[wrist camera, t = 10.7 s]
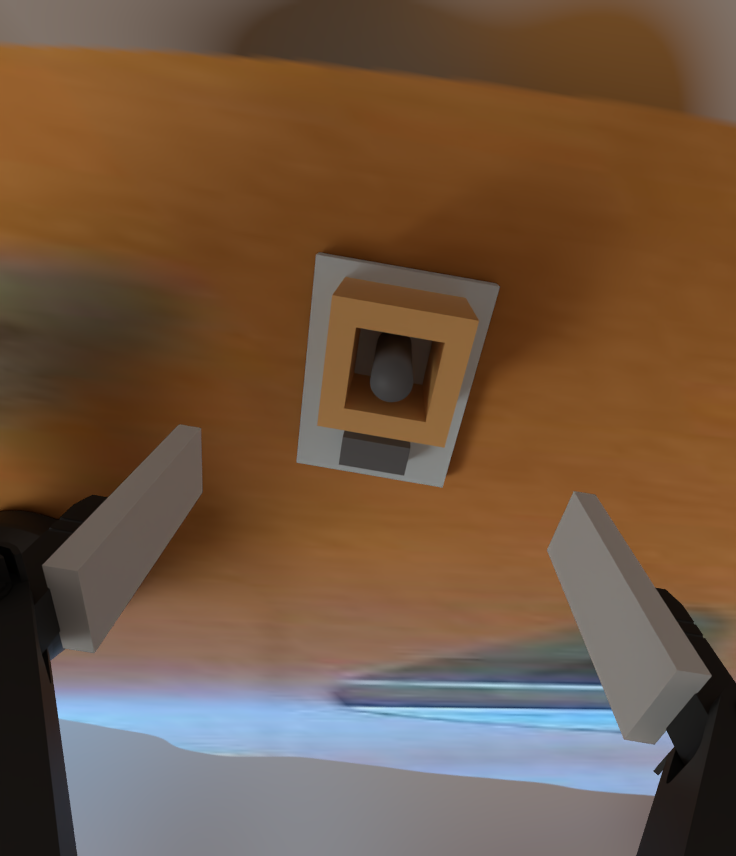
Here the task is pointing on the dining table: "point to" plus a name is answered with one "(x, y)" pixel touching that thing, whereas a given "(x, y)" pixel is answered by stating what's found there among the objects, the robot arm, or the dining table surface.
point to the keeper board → (317, 339)
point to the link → (403, 315)
